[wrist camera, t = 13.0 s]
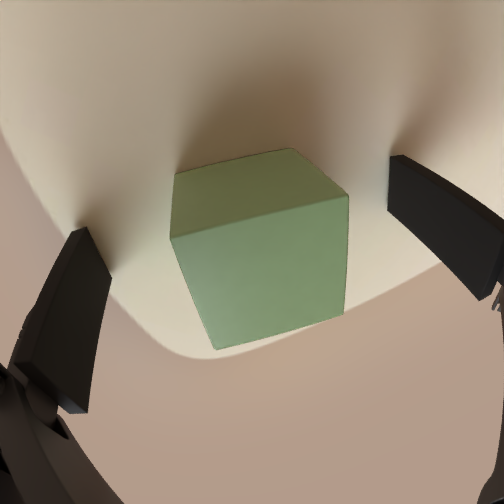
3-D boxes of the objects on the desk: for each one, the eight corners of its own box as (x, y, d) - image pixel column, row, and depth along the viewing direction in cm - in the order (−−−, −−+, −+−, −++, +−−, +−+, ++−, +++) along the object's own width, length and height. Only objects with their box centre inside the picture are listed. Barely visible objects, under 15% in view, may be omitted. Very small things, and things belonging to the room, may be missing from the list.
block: (203, 269, 13) (214, 351, 9) (173, 173, 10) (168, 237, 7) (301, 243, 13) (344, 314, 10) (292, 147, 11) (349, 194, 7)
